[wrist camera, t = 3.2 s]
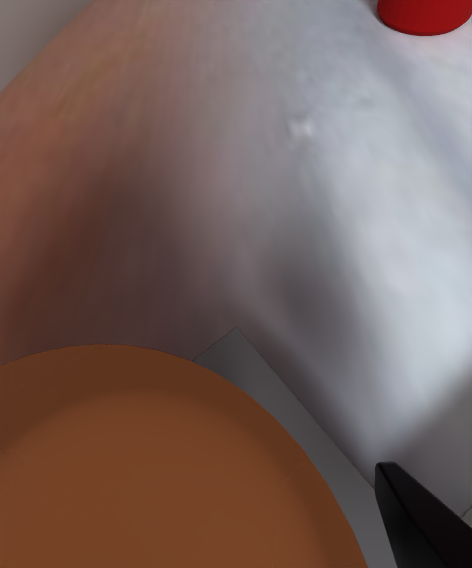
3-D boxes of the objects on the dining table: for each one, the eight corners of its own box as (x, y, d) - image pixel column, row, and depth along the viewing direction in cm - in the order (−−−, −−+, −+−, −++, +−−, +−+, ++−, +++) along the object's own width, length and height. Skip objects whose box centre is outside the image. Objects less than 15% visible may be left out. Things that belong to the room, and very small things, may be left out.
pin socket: (393, 532, 13) (425, 550, 11) (193, 750, 11) (170, 841, 8) (241, 347, 17) (236, 326, 14) (70, 482, 15) (28, 487, 12)
